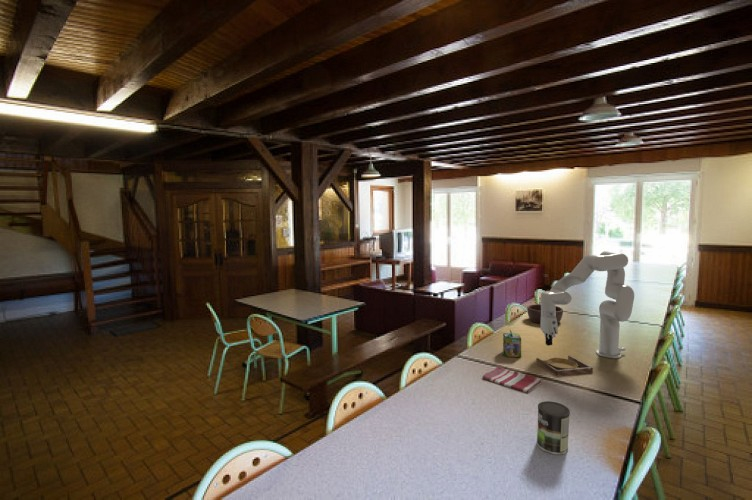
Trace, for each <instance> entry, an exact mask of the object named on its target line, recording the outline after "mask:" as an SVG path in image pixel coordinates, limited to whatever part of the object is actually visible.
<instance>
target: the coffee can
mask: <svg viewBox="0 0 752 500" xmlns="http://www.w3.org/2000/svg"><path fill="white" fill-rule="evenodd" d="M537 409H538V410H537V429H536V430H537V433H536V434H537V435H536V445H537V446H538V447H539V449H541V450H542V451H544V452H546V453H548V454H552V455H564V454H567V452H568V451H569V433H570V432H569V431H570V430H569V428H570V413H571V411H570V408H568V406H566V405H564V404H562V403H559V402H555V401H550V400H549V401H547V400H546V401H541V402H539V403H538V404H537Z"/></svg>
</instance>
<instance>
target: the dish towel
mask: <svg viewBox="0 0 752 500" xmlns="http://www.w3.org/2000/svg"><path fill="white" fill-rule="evenodd" d="M482 379H483V380H485V381H488V382H491V383H494V384H497V385H501V386H504V387H508V388H509V389H512V390H516V391H519V392H523V393H525V394H530V393H531V392H532V391H533V390H535V389H536V388H538V387H539V386H540V385H541V384H542V383H543V382H542V379H541V378H540V377H536V376H532V375H529V374H523V373H520V372H517V371H513V370H510V369H506V368H503V366H499V365H498V366H497V367H496V368H494V369H493V370H491V371H488V372H486V373H485V374H483V375H482Z"/></svg>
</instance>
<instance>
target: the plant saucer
mask: <svg viewBox="0 0 752 500" xmlns="http://www.w3.org/2000/svg"><path fill="white" fill-rule="evenodd" d="M546 362H547V364H548V365H550V366H552V367H553V368H555V369H556V370H564V369H575V368H578V367H579V366H578V365H577V363H575V362H574V361H571V360H568V358H561V357H552V358H548V359H547V360H546Z"/></svg>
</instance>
